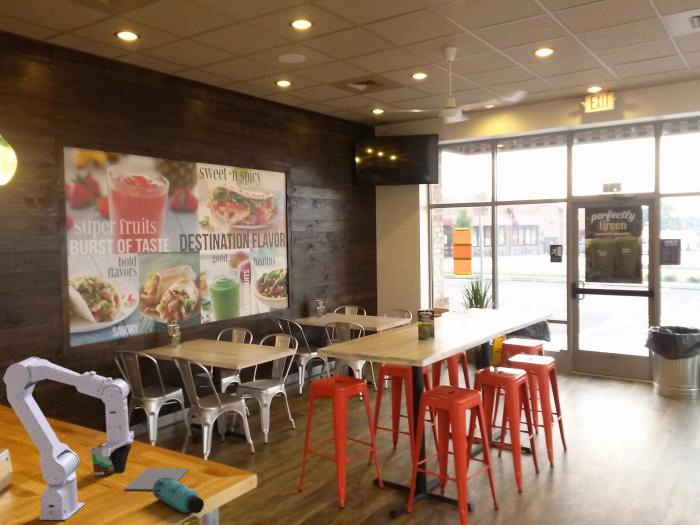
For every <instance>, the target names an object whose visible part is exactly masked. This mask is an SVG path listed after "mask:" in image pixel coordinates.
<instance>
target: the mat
mask: <svg viewBox="0 0 700 525" xmlns="http://www.w3.org/2000/svg"><path fill="white" fill-rule="evenodd" d="M189 471H190V468H189V467H187V468H185V467H184V468H180V467H178V468H177V467H147V468H146V469H145V470H143V471H142V473H141V472H140V474H139V475H138V476H137V477H136V478H135V479H134V480H132V482H130V483H129V484H128V485H127V486H126V487H125V488H124V491H140V490H153V486H154V483H155V482H156V481H157V480H158V479H159V478H161V477H164V476H165V477H170V478H171V479H173V480H175V481H177V482H180V480H181V479H182V478H183V477H184V476H185V475H186V474H187V473H188V472H189ZM186 472H187V473H186Z"/></svg>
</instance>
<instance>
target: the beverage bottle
mask: <svg viewBox="0 0 700 525" xmlns="http://www.w3.org/2000/svg"><path fill="white" fill-rule="evenodd" d="M152 493H153V496H154V498H156V499H157V500H159V501H161V502H162V503H164V504H167V505H168V506H170V507H172V508H174V509H176V510H178V511H180V512H181V513H184V514H188V513H193V514H199V513H201V511H203V508H204V506H205V501H204V500H203V499H202V498H201V497H199V496H200V495H199V493H198V492H197V490H195V489H193V488H190V487H188V486H187V485H186V484H183V483H182V482H180V481H178V482H177V481H175V480H173V479H171V478H170V477H165V476H164V477H161V478H159V479H158V480H157V481H156V482H155V483H154V486H153V491H152Z"/></svg>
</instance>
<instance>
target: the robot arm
mask: <svg viewBox="0 0 700 525" xmlns="http://www.w3.org/2000/svg"><path fill="white" fill-rule="evenodd" d="M45 379H47V380H51V381H56V382H58V383H63V384H67V385H70V386H75V388H76V390H77V392H78V393H81V394H84V395H89V396H90V397H94V398H97V399H101V401H102V402H103V403H104V407H105V410H104V411H105V424H106V425H105V426H106V441H107V442H106V441H105V442H106V444H105V446H104V448H103V449H102V457H109V458H110V460H111V462H112V464H113V467H114V470H115V474H123V473H124V472H125V471H126V466H127V461H128V456H129V454H130V452H131V449H132V443H133V442H134V438H135V432H134V431H133V430H130V429H129V410H128V409H129V408H128V395H129V394H130V391H131V390H130V385H129V384H128V383H127V381H125V380H123V379H122V378H115V379H113V378H112V377H105V376H102V375H98V374H97V372H96V371H93V370H91V371H85V372H84V373H82V374H80V373H78V372H75V371H73V370H71V369H68V368H65V367H62V366H60V365H57V364H55V363H52V362H50V361H49V360H48V359H44V358H40V357H37V356H31V357H28V358H26V359H24V360H22V361H20V362H17V363H13V364H11V365H10V366H8V367H7V368H6V371H5V374H4V375H3V378H2V380H3V381H4V384H5V386H6V397H7V400H8V403H9V404H10V406H11V407H12V409H13V411H14V413H15V415H16V416H17V418H18V419H19V422H20V423H21V425H22V426H23V428H24V429H25V430H26V431H25V432H27V434H28V436H29V437H30V439H31V441H32V443H33V444H34V446H35V448H36V449H37V450H38V452H39V454H40V457H39V462H38V464H39V467H40V468H41V474H42V479H43V480H44V481H45V483H46V488H45V489H44V491H43V492H42V494H41V495H40V507H41V508H40V509H41V515H40V516H39V517H38V519H39V520H41V521H43V520H45V521H48V520H49V521H66V520H68V519H69V518H71V517H72V516H73V515H74V514H75V513H76V512H78V511H79V510H80V509H81V508H82V507H83V506H85V502H78V501H79V500H78V485H77V483H78V482H77V472H76V470H77V469H78V467H79V466H80V457H79V456H78V454H77V453H76V452H74V451H73V450H72V449H71V448H70V447H69V445H68V444H65V443H63V442H61V441H60V440H59V438H58V437H57V435H56V432H54V430H53V428H52V427H51V425H50V423H49V421H48V420H47V418H46V417H45V415H44V413H43V411H42V410H41V408H40V407H39V405H38V403H37V402H36V401H35V399H34V397H33V395H32V394H33V391H34V389H35V386H36V384H37V382H39V381H42V380H43V381H44V380H45Z"/></svg>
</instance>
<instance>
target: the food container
mask: <svg viewBox="0 0 700 525" xmlns="http://www.w3.org/2000/svg"><path fill="white" fill-rule="evenodd" d="M106 442H107V440H105V441H104V442H102V443H100V444H99V445H98V446H96V447H93V446H92V447H90V451H89V452H90V453H89V455H91V460H92V467H93V475H94V476H93V477H94V478H104V477H109V476H113V475H115V474H116V473H115V470H114V467H113V464H112V462H111V460H110V458H109V457H102V449H103V448H104V446H105V444H106Z"/></svg>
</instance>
